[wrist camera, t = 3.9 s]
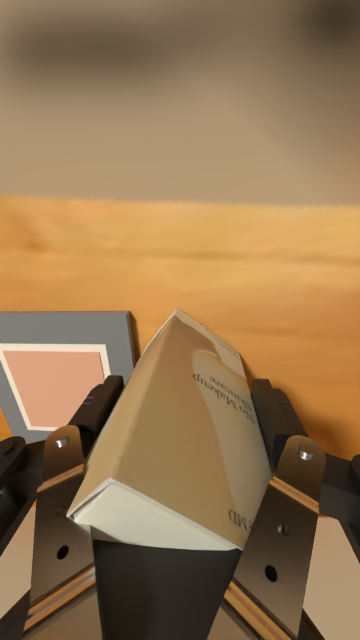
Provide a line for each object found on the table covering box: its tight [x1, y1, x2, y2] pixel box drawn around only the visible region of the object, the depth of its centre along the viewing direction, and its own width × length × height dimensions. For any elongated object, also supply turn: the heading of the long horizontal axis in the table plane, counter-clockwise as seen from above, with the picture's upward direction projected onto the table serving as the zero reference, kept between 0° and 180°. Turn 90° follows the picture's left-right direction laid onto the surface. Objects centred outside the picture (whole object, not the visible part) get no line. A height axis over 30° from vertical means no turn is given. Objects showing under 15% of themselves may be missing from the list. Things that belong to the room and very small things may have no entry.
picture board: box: [0, 311, 136, 444], centre depth 19 cm, size 13×14×1 cm
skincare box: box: [62, 309, 273, 551], centre depth 11 cm, size 6×4×12 cm
